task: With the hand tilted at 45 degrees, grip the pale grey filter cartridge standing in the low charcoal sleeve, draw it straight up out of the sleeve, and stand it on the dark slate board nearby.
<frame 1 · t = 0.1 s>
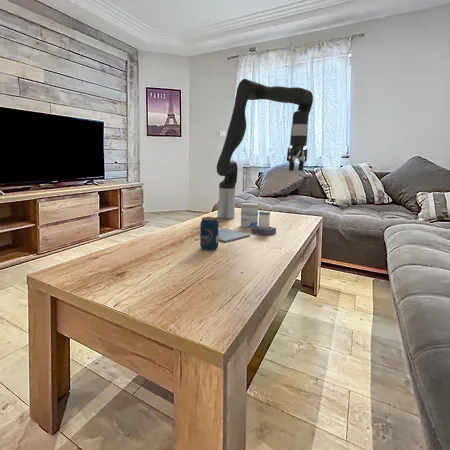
hand: (296, 170, 148), 29 cm above the table, tool pointing down, fingers open, 8 cm apart
sleeve: (263, 232, 149), on the table
soda can: (209, 249, 121), on the table
ink box: (249, 226, 162), on the table
cartridge: (264, 222, 147), in the sleeve
slate board: (225, 235, 141), on the table
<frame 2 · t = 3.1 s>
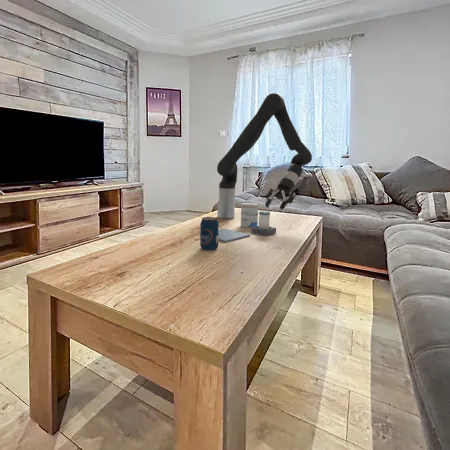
hand: (273, 207, 151), 11 cm above the table, tool tilted 45°, fingers open, 8 cm apart
nothing on the table moved.
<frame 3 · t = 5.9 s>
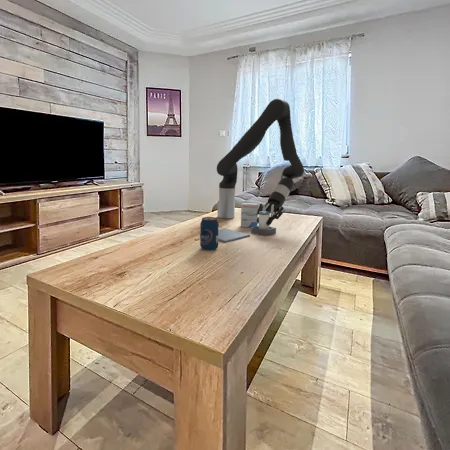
hand: (262, 223, 147), 5 cm above the table, tool tilted 45°, fingers closed on cartridge, 5 cm apart
cartridge: (264, 222, 147), in the sleeve, touching gripper
everything else where it was.
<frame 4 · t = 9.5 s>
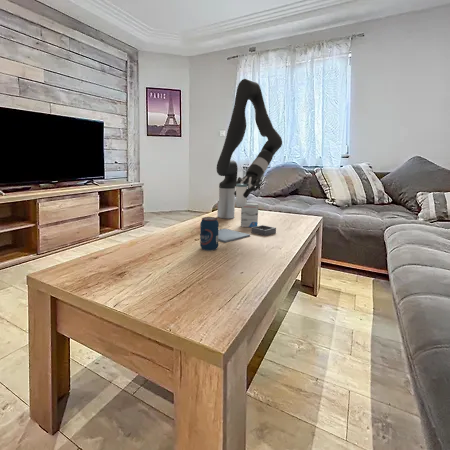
hand: (240, 195, 144), 17 cm above the table, tool tilted 45°, fingers closed on cartridge, 5 cm apart
cartridge: (241, 195, 145), point 18 cm above the table, touching gripper
everything else where it was.
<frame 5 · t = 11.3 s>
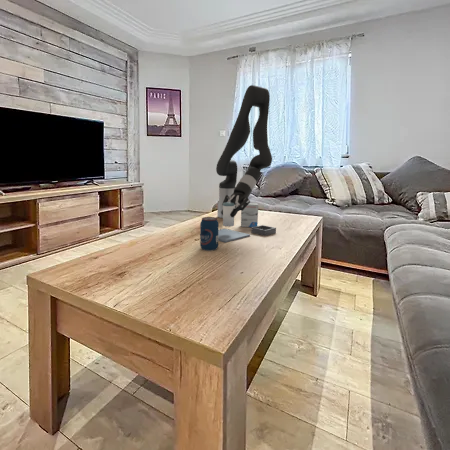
hand: (227, 215, 140), 9 cm above the table, tool tilted 45°, fingers closed on cartridge, 5 cm apart
cartridge: (228, 214, 140), point 10 cm above the table, touching gripper
everything else where it was.
when the fingers open (7 cm above the table, at t = 13.0 s): cartridge drops 1 cm, resting on slate board.
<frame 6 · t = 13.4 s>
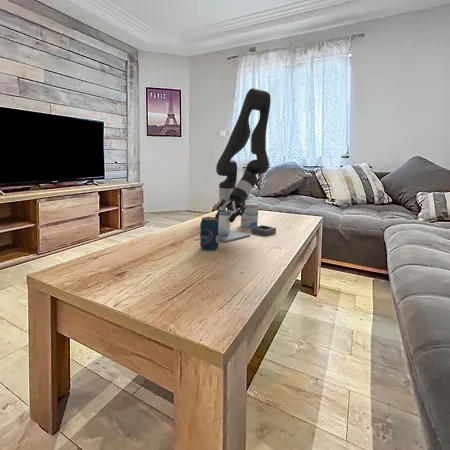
hand: (223, 220, 139), 7 cm above the table, tool tilted 45°, fingers open, 8 cm apart
cartridge: (224, 223, 140), on the slate board, point 6 cm above the table
everything else where it was.
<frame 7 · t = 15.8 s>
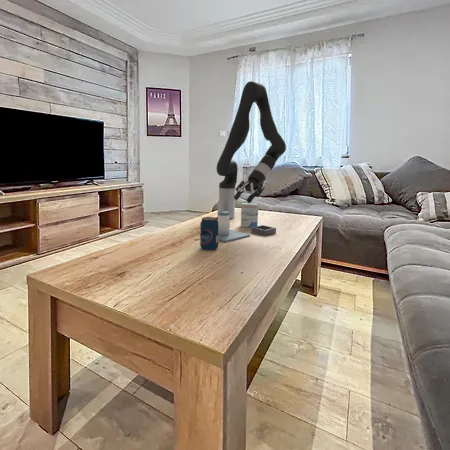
hand: (241, 200, 146), 15 cm above the table, tool tilted 45°, fingers open, 8 cm apart
nothing on the table moved.
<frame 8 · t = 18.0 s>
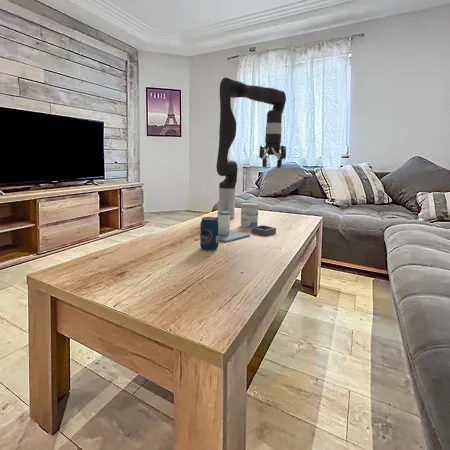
hand: (271, 167, 155), 30 cm above the table, tool pointing down, fingers open, 8 cm apart
nothing on the table moved.
at the end: cartridge inside the target area on the slate board (0.7 cm from its centre), point 5.9 cm above the slate board's base; cartridge tilted 2°; cartridge touching slate board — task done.
